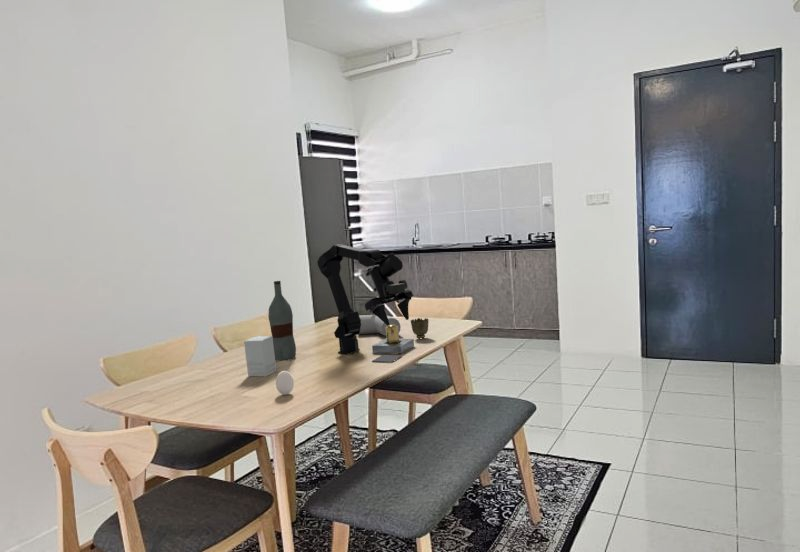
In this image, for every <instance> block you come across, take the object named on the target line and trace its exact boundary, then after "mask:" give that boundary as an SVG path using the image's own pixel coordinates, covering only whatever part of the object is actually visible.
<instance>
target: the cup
mask: <svg viewBox="0 0 800 552" xmlns="http://www.w3.org/2000/svg"><path fill="white" fill-rule="evenodd" d="M410 325H411V330H412V333H413V334H414V335H415V337H416V339H417V338H424V337H425V338H426V334H427V333H428V330H429V319H428V318H427V317H425V318H421V317H420V318H419V317H418V318H412V319H411V320H410ZM425 338H424V339H425Z"/></svg>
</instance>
